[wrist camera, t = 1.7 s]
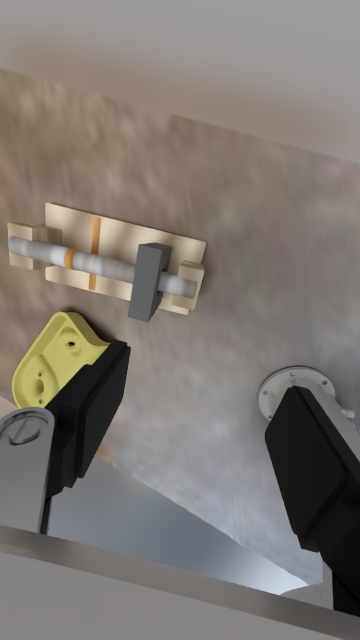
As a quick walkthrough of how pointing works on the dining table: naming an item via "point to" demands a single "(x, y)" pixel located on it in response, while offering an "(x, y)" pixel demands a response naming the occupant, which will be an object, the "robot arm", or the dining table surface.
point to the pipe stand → (105, 255)
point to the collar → (148, 279)
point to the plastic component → (55, 359)
